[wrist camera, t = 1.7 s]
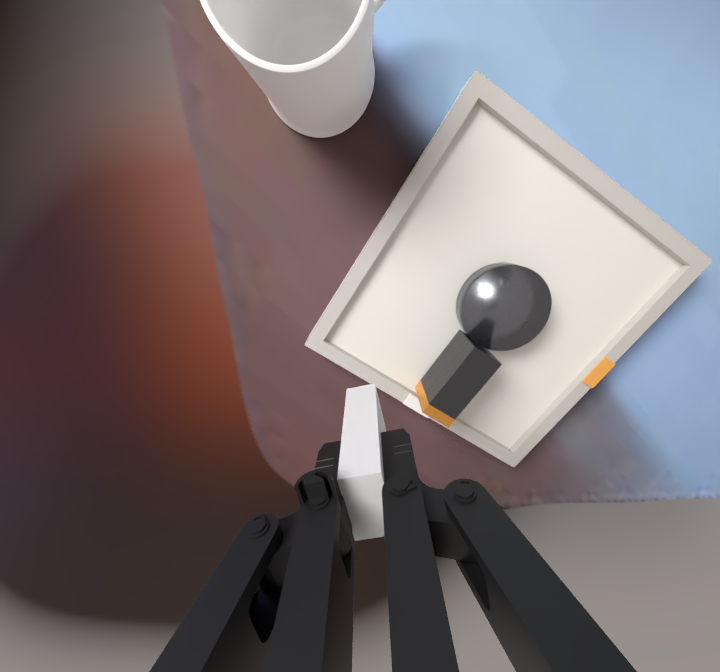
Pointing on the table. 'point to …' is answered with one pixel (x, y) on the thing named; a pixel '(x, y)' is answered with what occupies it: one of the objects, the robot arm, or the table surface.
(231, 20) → the mug
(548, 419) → the white square tray
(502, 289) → the dark grey handled piece
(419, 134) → the table surface
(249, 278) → the table surface
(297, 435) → the table surface
